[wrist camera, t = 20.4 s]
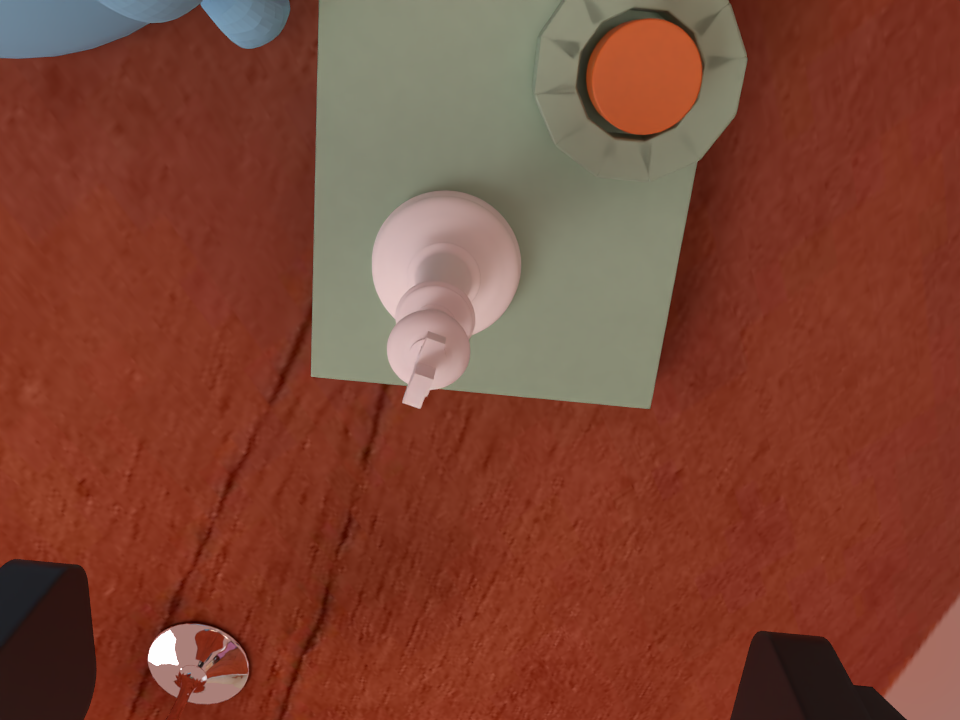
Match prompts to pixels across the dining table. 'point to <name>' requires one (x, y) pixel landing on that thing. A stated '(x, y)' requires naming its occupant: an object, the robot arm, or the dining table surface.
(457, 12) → the orange button base
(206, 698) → the wineglass
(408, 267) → the chess piece
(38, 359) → the dining table surface
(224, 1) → the teapot
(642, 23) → the button
